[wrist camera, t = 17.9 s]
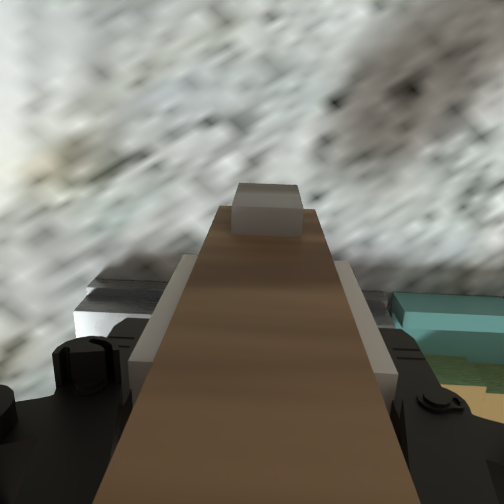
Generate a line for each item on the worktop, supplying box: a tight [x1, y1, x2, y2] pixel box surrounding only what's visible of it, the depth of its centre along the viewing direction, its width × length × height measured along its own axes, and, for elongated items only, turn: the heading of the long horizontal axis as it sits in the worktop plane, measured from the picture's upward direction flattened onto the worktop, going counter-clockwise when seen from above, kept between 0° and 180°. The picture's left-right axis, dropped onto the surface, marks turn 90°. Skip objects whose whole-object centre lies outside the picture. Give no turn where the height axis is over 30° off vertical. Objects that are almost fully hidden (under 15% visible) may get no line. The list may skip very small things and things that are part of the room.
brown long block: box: [92, 183, 421, 504], centre depth 12 cm, size 6×4×17 cm, turn 178°
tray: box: [390, 292, 504, 364], centre depth 28 cm, size 12×10×2 cm
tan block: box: [470, 363, 504, 423], centre depth 28 cm, size 4×4×3 cm
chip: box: [423, 354, 487, 417], centre depth 27 cm, size 4×4×3 cm
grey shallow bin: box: [74, 279, 395, 338], centre depth 28 cm, size 12×17×3 cm
